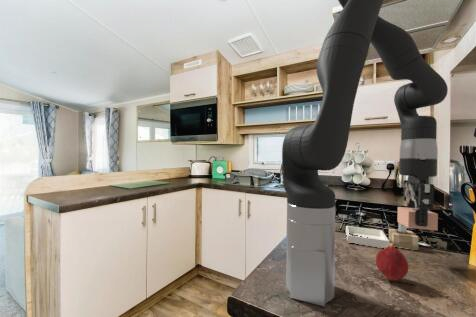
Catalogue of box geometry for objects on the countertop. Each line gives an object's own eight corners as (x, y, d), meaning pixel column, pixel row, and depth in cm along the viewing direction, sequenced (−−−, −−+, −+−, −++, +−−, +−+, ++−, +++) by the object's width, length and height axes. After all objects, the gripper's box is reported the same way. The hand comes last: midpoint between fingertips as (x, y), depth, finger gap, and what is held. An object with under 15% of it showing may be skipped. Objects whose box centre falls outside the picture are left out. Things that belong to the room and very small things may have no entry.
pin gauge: (407, 247, 65) (407, 214, 66) (399, 246, 66) (399, 213, 66) (405, 244, 67) (405, 212, 67) (397, 243, 68) (397, 212, 68)
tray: (389, 249, 64) (389, 241, 64) (347, 243, 68) (347, 235, 68) (381, 237, 74) (381, 230, 74) (345, 232, 78) (345, 225, 78)
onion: (414, 290, 44) (414, 250, 44) (382, 286, 45) (383, 247, 45) (399, 275, 49) (399, 240, 49) (371, 272, 51) (371, 237, 51)
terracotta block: (437, 230, 52) (437, 213, 52) (408, 227, 53) (408, 211, 54) (423, 223, 58) (423, 208, 58) (397, 221, 59) (397, 206, 59)
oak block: (418, 251, 63) (418, 237, 63) (393, 247, 65) (393, 234, 65) (411, 243, 68) (411, 231, 68) (388, 240, 71) (388, 228, 71)
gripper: (393, 158, 64) (391, 214, 64) (408, 156, 51) (406, 227, 51) (425, 158, 61) (424, 218, 61) (450, 156, 48) (448, 232, 47)
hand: (416, 222), depth 56 cm, fingers closed on terracotta block, 6 cm apart
